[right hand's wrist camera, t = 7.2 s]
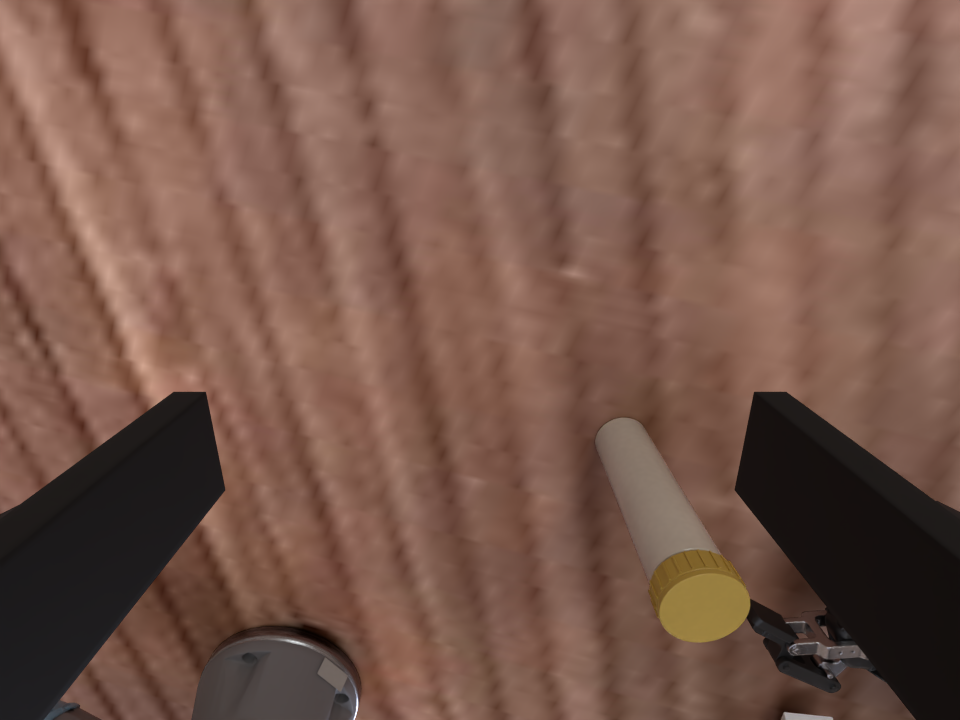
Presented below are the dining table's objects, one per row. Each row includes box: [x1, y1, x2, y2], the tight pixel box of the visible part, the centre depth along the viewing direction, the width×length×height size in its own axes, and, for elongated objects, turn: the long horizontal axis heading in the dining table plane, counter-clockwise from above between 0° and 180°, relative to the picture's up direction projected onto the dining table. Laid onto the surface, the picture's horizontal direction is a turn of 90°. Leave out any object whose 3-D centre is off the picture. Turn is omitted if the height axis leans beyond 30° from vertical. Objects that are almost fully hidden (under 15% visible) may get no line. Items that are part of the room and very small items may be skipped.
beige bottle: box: [595, 418, 722, 585], centre depth 34 cm, size 4×4×17 cm
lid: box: [648, 549, 750, 642], centre depth 27 cm, size 5×5×2 cm
